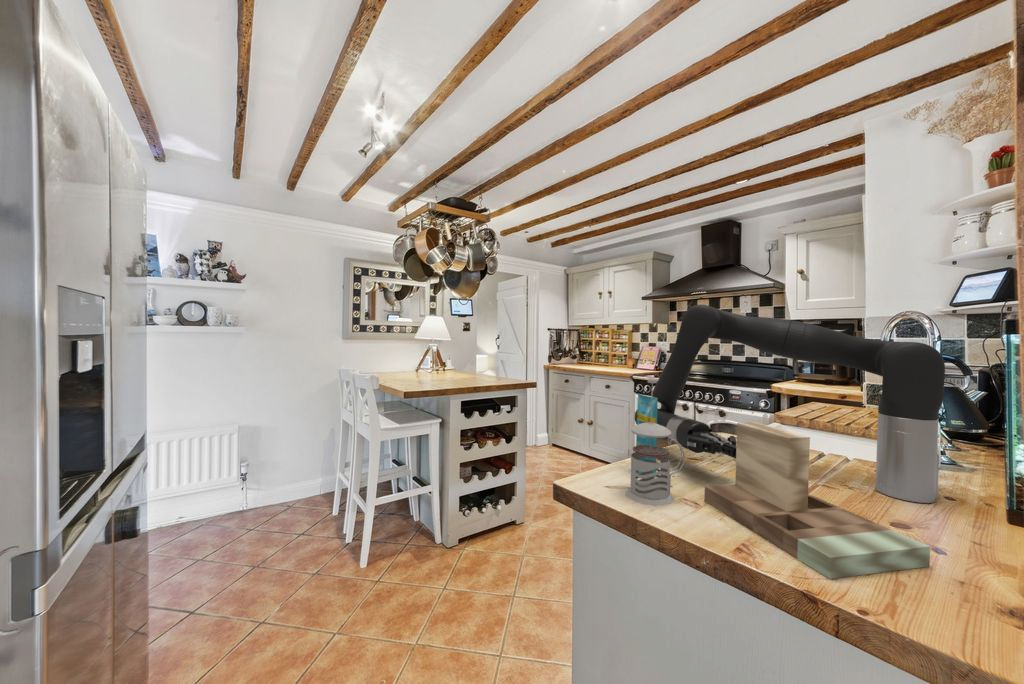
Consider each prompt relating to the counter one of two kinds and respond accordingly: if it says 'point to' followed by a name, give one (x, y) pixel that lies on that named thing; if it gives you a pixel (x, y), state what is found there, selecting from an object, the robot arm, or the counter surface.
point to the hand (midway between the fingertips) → (740, 453)
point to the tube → (646, 421)
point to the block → (773, 465)
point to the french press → (651, 465)
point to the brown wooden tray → (822, 534)
